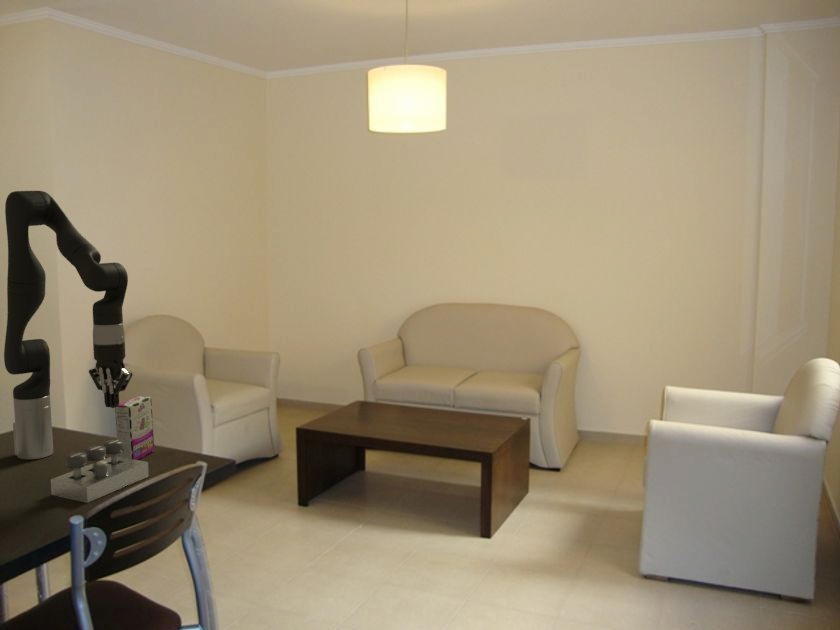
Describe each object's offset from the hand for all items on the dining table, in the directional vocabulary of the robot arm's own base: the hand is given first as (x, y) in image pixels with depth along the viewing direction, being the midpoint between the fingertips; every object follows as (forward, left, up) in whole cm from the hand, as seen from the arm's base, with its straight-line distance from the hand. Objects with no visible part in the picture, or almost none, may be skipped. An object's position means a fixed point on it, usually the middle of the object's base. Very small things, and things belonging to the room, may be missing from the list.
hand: (112, 406), depth 195 cm
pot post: (+5, -9, -15) cm, 18 cm away
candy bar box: (-7, +15, -19) cm, 26 cm away
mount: (+2, -6, -19) cm, 20 cm away
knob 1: (0, -12, -15) cm, 19 cm away
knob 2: (0, -6, -15) cm, 16 cm away
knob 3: (0, 0, -15) cm, 15 cm away
